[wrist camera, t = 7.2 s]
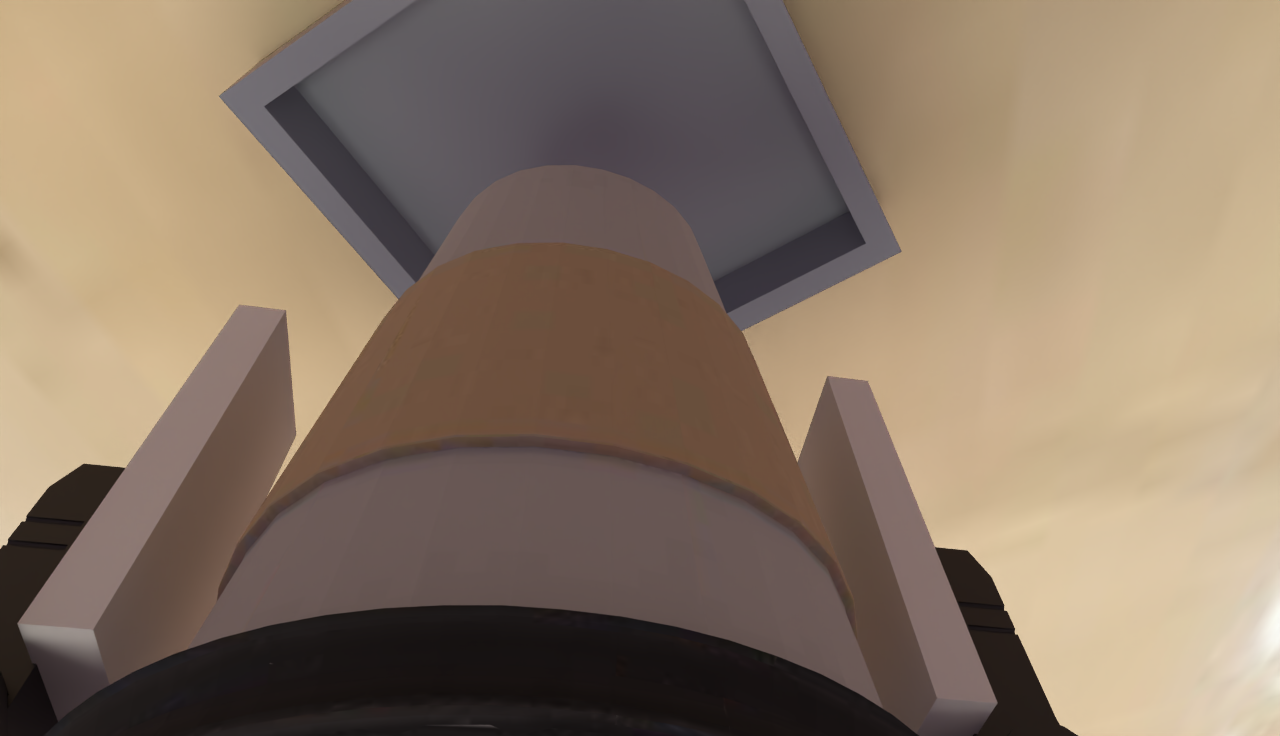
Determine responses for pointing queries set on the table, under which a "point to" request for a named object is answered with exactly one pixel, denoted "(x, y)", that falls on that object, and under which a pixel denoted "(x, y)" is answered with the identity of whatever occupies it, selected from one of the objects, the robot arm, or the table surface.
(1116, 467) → the table surface
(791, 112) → the tray
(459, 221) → the coffee cup
